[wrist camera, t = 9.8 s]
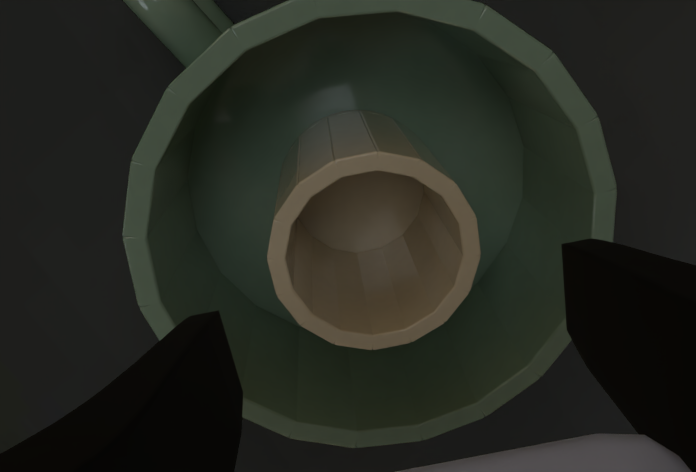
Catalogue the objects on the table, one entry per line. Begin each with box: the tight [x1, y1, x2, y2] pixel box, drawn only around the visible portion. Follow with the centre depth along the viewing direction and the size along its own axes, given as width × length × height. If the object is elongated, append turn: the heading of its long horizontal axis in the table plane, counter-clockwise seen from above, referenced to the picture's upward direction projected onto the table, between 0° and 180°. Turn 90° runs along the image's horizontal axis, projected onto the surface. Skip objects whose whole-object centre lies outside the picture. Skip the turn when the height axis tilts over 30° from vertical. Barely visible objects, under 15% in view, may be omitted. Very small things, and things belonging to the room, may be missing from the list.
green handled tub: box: [122, 0, 617, 448], centre depth 17 cm, size 16×12×6 cm
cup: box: [267, 110, 481, 350], centre depth 17 cm, size 5×5×6 cm
